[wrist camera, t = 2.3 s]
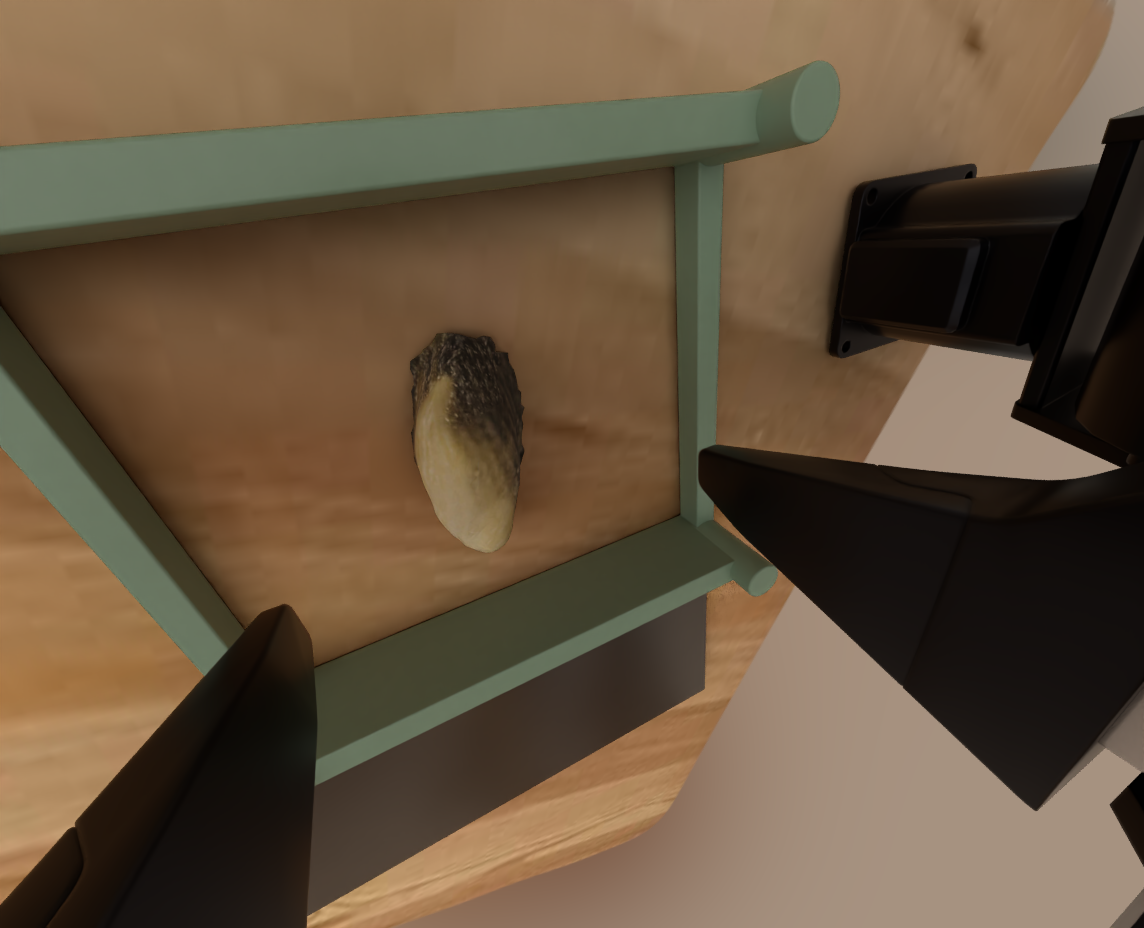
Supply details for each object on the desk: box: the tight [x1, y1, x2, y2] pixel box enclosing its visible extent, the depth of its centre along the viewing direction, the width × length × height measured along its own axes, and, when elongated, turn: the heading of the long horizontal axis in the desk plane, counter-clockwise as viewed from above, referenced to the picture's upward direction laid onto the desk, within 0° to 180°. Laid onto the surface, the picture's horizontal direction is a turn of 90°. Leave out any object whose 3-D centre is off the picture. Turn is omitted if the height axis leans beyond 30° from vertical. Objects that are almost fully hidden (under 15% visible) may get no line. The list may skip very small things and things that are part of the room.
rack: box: [0, 61, 840, 786], centre depth 12 cm, size 18×15×4 cm
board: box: [307, 593, 707, 916], centre depth 20 cm, size 22×10×1 cm, turn 99°
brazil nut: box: [410, 333, 524, 553], centre depth 13 cm, size 6×5×3 cm
